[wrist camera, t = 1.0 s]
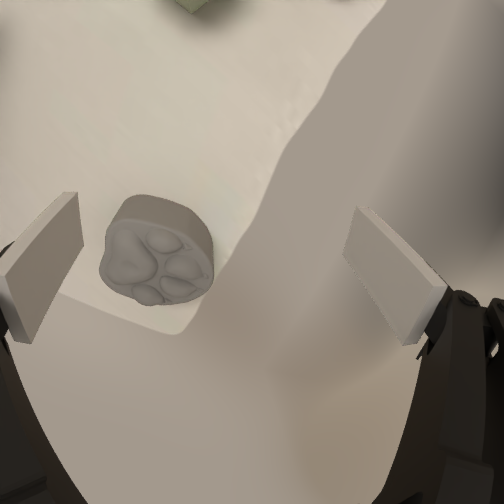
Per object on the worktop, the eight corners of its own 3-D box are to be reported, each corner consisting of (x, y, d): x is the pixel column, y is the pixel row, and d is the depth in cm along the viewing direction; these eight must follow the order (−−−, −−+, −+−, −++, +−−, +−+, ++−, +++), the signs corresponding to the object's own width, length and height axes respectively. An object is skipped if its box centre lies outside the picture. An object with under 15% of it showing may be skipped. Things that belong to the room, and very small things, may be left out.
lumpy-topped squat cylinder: (126, 186, 35) (106, 215, 28) (225, 218, 39) (230, 254, 32) (109, 256, 39) (92, 295, 32) (198, 283, 43) (198, 325, 36)
